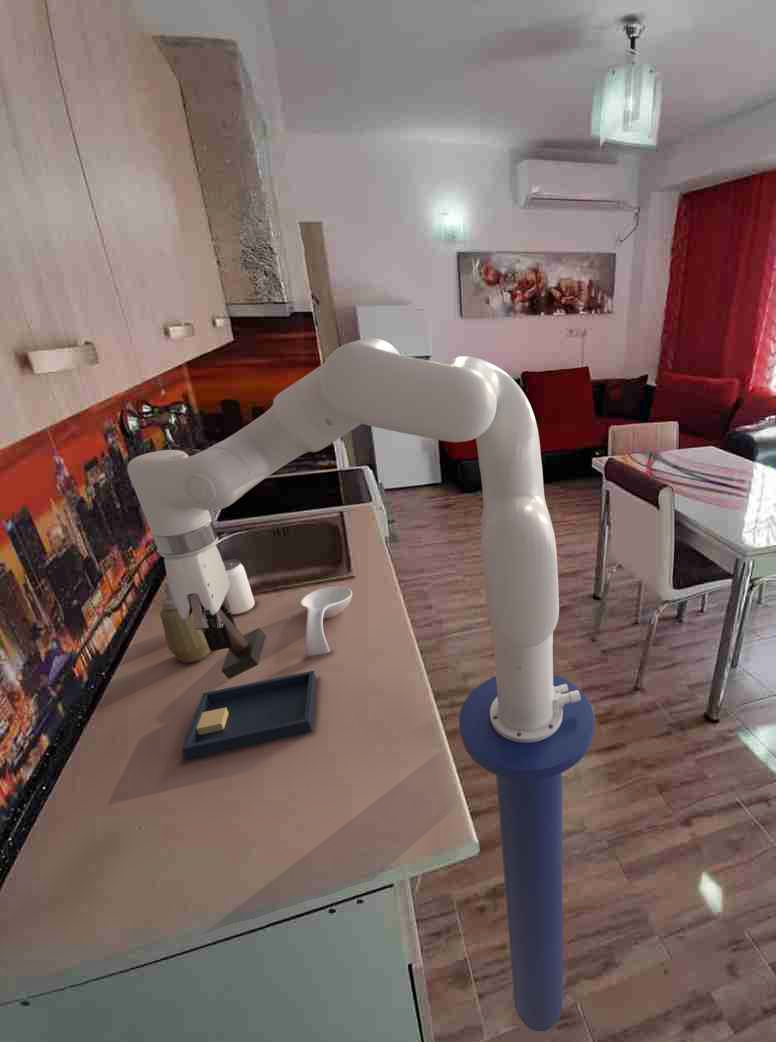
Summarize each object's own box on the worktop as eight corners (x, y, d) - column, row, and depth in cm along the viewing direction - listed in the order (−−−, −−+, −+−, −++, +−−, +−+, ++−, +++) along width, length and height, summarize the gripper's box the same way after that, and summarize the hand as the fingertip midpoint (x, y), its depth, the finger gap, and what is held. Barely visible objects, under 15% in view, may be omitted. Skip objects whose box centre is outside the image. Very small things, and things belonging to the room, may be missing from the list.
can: (256, 598, 129) (243, 556, 124) (253, 611, 123) (240, 568, 118) (228, 604, 127) (214, 561, 122) (224, 617, 121) (209, 573, 116)
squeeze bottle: (218, 639, 113) (193, 568, 106) (214, 660, 107) (187, 586, 99) (177, 649, 111) (149, 577, 103) (171, 671, 104) (139, 596, 96)
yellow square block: (228, 713, 91) (226, 707, 91) (223, 729, 88) (221, 723, 87) (204, 718, 91) (202, 712, 90) (198, 735, 87) (196, 728, 86)
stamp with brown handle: (239, 649, 87) (201, 605, 82) (266, 635, 87) (230, 591, 82) (228, 679, 79) (186, 633, 75) (258, 664, 80) (218, 618, 75)
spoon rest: (307, 601, 126) (301, 576, 123) (356, 594, 128) (351, 569, 125) (290, 661, 105) (282, 632, 102) (349, 651, 107) (342, 623, 104)
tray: (316, 680, 99) (313, 670, 98) (311, 731, 87) (308, 720, 86) (207, 703, 95) (203, 692, 94) (186, 760, 83) (181, 749, 82)
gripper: (175, 520, 80) (212, 618, 88) (136, 567, 65) (183, 679, 73) (227, 513, 81) (258, 610, 89) (199, 557, 67) (239, 668, 75)
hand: (224, 640), depth 81 cm, fingers closed on stamp with brown handle, 2 cm apart
